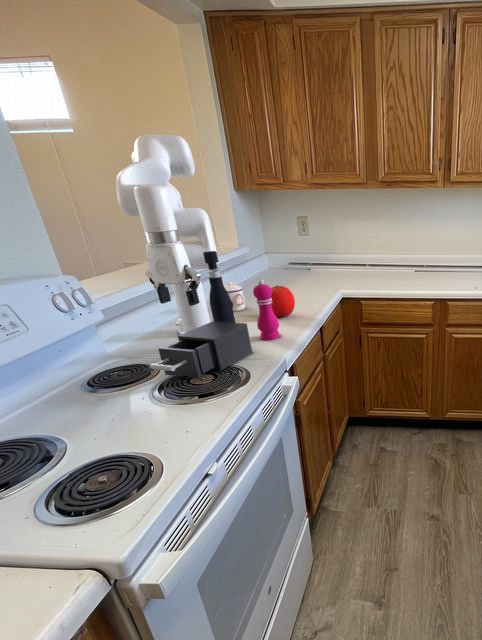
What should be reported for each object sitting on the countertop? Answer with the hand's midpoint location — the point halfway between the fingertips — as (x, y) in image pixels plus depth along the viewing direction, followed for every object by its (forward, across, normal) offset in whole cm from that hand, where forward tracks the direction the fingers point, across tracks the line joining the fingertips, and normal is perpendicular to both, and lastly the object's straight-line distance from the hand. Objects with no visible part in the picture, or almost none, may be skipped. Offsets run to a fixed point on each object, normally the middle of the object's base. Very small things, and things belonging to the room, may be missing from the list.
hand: (180, 303), depth 114 cm
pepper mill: (+20, +6, +29) cm, 35 cm away
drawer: (+18, +3, -4) cm, 19 cm away
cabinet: (+19, +3, +7) cm, 21 cm away
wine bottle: (+20, -4, +20) cm, 28 cm away
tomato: (+20, -5, +53) cm, 57 cm away
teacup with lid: (+21, -31, +59) cm, 70 cm away
